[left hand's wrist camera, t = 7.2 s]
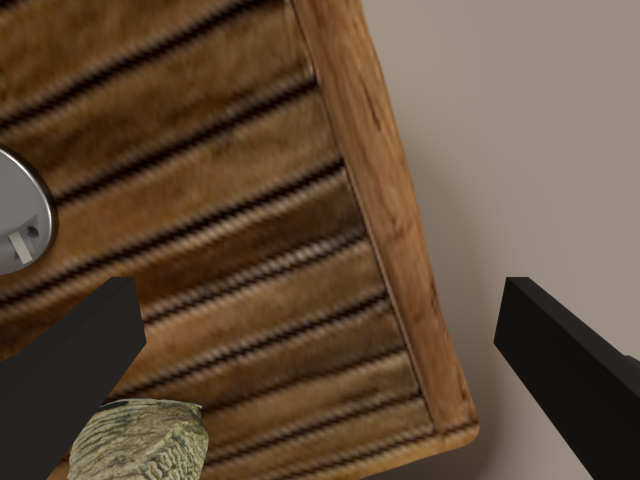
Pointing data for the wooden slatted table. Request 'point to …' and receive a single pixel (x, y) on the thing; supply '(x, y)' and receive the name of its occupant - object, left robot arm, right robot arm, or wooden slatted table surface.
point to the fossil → (141, 442)
